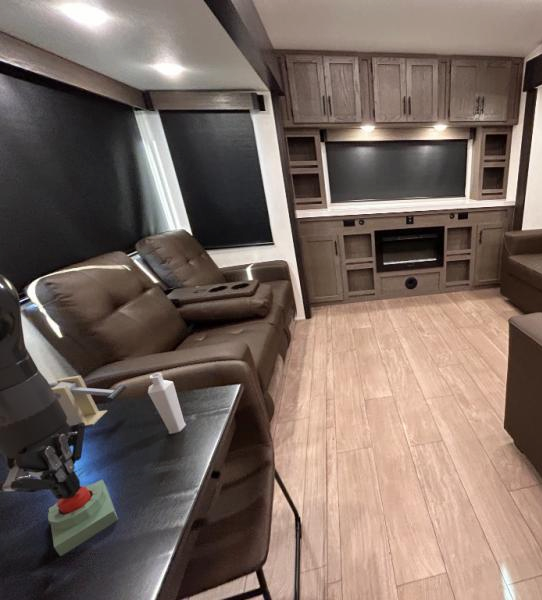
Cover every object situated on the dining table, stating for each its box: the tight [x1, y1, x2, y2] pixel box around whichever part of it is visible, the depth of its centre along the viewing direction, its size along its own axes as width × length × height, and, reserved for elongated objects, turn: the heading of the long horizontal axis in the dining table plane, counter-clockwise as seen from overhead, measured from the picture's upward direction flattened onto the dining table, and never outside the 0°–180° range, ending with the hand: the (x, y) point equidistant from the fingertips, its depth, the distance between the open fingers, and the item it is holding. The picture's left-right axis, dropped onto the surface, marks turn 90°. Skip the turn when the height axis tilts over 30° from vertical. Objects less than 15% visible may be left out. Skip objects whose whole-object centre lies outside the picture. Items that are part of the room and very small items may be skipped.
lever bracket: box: [51, 375, 108, 427], centre depth 75 cm, size 8×6×12 cm
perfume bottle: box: [147, 372, 187, 435], centre depth 69 cm, size 5×4×15 cm
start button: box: [56, 485, 91, 514], centre depth 52 cm, size 4×4×2 cm
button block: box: [47, 479, 119, 557], centre depth 53 cm, size 10×7×4 cm
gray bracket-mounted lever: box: [54, 382, 127, 403], centre depth 75 cm, size 12×5×2 cm, turn 100°
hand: (70, 494), depth 52 cm, fingers closed
